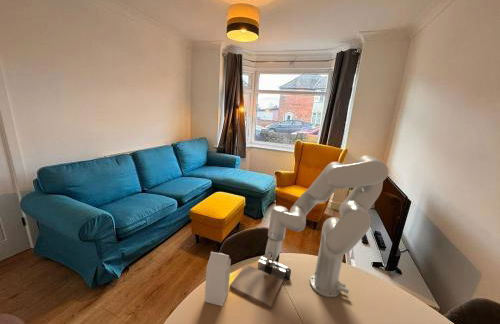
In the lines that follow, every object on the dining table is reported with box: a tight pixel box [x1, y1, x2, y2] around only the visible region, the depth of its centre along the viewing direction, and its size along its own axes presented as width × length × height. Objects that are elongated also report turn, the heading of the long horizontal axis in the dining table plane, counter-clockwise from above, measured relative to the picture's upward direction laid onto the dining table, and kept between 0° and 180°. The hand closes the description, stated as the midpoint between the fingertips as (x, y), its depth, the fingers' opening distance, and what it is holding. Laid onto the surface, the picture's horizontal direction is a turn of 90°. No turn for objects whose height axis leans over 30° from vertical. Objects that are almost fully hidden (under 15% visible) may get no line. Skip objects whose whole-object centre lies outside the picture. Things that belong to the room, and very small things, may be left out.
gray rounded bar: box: [257, 256, 292, 281], centre depth 96 cm, size 15×4×4 cm, turn 63°
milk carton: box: [204, 251, 232, 307], centre depth 79 cm, size 7×7×19 cm
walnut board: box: [228, 264, 284, 310], centre depth 88 cm, size 18×15×2 cm
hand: (271, 266), depth 97 cm, fingers open, 9 cm apart
